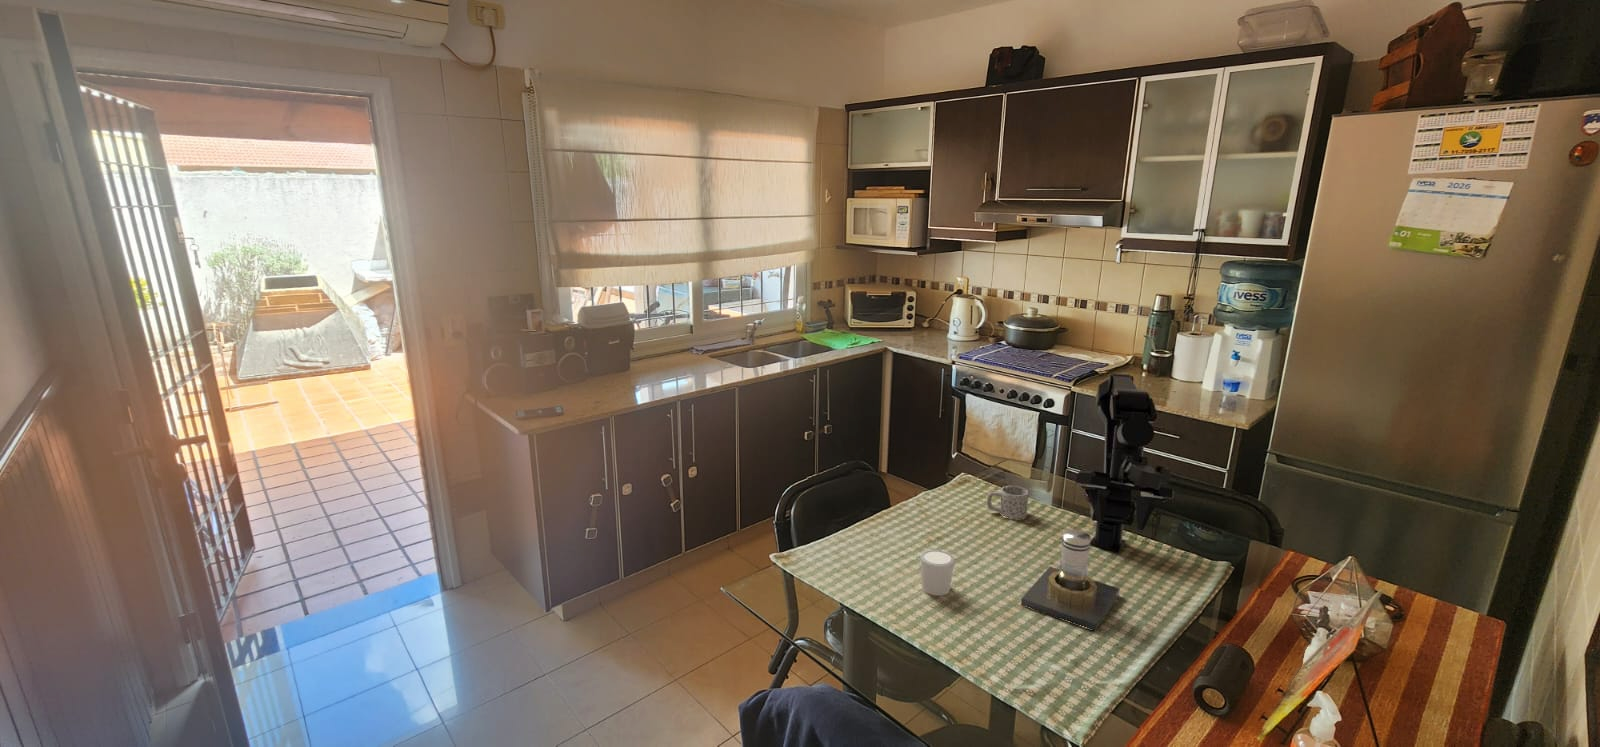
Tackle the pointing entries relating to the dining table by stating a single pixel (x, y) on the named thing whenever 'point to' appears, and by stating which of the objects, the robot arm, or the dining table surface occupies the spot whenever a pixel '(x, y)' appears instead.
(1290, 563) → the dining table surface
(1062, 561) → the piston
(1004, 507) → the mug
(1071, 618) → the tube holder stand
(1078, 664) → the dining table surface
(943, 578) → the white cylinder
